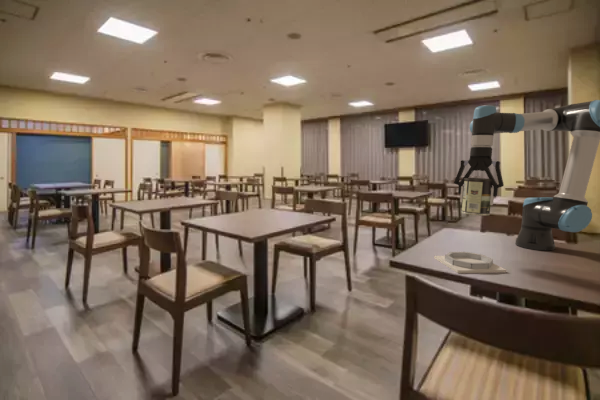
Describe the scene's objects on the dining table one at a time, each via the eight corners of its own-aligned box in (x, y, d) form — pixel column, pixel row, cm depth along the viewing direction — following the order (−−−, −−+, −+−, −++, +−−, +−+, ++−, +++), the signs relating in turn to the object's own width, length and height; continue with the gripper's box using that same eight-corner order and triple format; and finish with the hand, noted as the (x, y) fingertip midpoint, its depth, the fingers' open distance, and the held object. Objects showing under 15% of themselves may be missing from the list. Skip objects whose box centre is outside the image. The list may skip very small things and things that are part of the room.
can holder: (477, 257, 140) (477, 250, 140) (506, 272, 123) (506, 264, 122) (434, 258, 139) (434, 251, 139) (457, 273, 121) (458, 264, 121)
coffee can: (485, 212, 141) (488, 178, 140) (493, 216, 131) (497, 179, 130) (458, 211, 144) (461, 177, 142) (464, 214, 134) (467, 178, 132)
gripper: (516, 147, 131) (510, 205, 133) (453, 147, 144) (448, 199, 147) (514, 146, 125) (507, 207, 127) (448, 146, 138) (444, 201, 141)
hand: (476, 203), depth 137 cm, fingers closed on coffee can, 10 cm apart
